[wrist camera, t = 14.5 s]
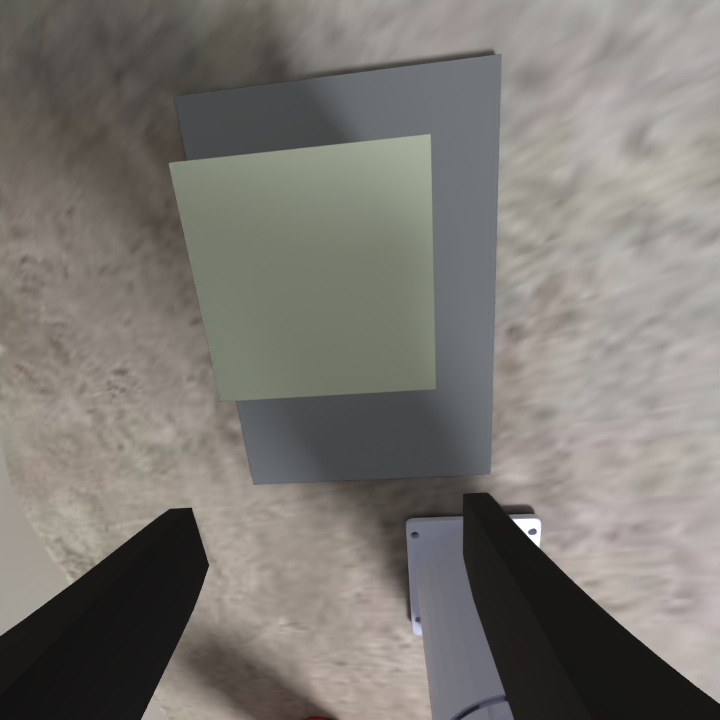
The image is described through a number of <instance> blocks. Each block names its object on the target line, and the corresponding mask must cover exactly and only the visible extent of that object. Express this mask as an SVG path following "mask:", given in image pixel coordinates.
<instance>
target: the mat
mask: <svg viewBox="0 0 720 720" xmlns="http://www.w3.org/2000/svg"><path fill="white" fill-rule="evenodd" d="M500 90H501V54H497V55H490V56H482V57H474V58H466V59H459V60H451V61H443V62H435V63H428V64H420V65H412V66H404V67H397V68H389V69H381V70H373V71H366V72H358V73H350V74H342V75H335V76H327V77H319V78H311V79H304V80H296V81H288V82H280V83H273V84H265V85H257V86H249V87H242V88H234V89H226V90H218V91H211V92H203V93H195V94H187V95H180V96H174V101H175V106H176V111H177V116H178V120H179V125H180V130H181V135H182V140H183V145H184V150H185V154H186V159H187V161H190V160H199V159H208V158H217V157H227V156H236V155H245V154H254V153H263V152H272V151H281V150H290V149H299V148H308V147H317V146H327V145H336V144H345V143H354V142H363V141H372V140H381V139H390V138H399V137H408V136H418V135H427V134H431V173H432V222H433V271H434V320H435V370H436V389H429V390H412V391H395V392H378V393H360V394H343V395H326V396H309V397H292V398H274V399H257V400H240V401H237V406H238V411H239V416H240V421H241V426H242V430H243V435H244V440H245V445H246V450H247V455H248V460H249V464H250V469H251V474H252V479H253V484H254V485H258V484H281V483H304V482H326V481H349V480H372V479H395V478H418V477H441V476H464V475H487V474H490V468H491V431H492V393H493V355H494V317H495V279H496V241H497V203H498V166H499V128H500Z"/></svg>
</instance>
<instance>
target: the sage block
mask: <svg viewBox="0 0 720 720" xmlns="http://www.w3.org/2000/svg"><path fill="white" fill-rule="evenodd" d="M169 168H170V173H171V177H172V182H173V187H174V191H175V196H176V200H177V205H178V210H179V214H180V219H181V223H182V228H183V233H184V237H185V242H186V246H187V251H188V256H189V260H190V265H191V269H192V274H193V279H194V283H195V288H196V292H197V297H198V302H199V306H200V311H201V315H202V320H203V325H204V329H205V334H206V339H207V343H208V348H209V352H210V357H211V362H212V366H213V371H214V375H215V380H216V385H217V389H218V394H219V398H220V402H223V401H240V400H257V399H274V398H292V397H309V396H326V395H343V394H360V393H378V392H395V391H412V390H429V389H436V370H435V320H434V271H433V222H432V173H431V134H427V135H418V136H408V137H399V138H390V139H381V140H372V141H363V142H354V143H345V144H336V145H327V146H317V147H308V148H299V149H290V150H281V151H272V152H263V153H254V154H245V155H236V156H227V157H217V158H208V159H199V160H190V161H181V162H172V163H169Z"/></svg>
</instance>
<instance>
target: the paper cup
mask: <svg viewBox="0 0 720 720" xmlns="http://www.w3.org/2000/svg"><path fill="white" fill-rule="evenodd" d="M304 720H331V719H326V718H307V719H304Z"/></svg>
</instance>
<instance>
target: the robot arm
mask: <svg viewBox="0 0 720 720" xmlns="http://www.w3.org/2000/svg"><path fill="white" fill-rule="evenodd" d="M532 528H534V529H532ZM530 529H532V530H530ZM413 532H417V534H412V533H413ZM540 535H541V521H540V519H539V518H538V516H537V515H535V514H514V515H508V514H507V513H506V512H505V511H504V510H503V508H502V507H501V506H500V505H499V504H498V503H497V502H496V501H495V499H494V498H493V497H492V496H491V495H490V494H489V493H471V494H463V516H457V517H429V518H411V519H409V520H408V521H407V522H406V537H407V554H408V571H409V588H410V605H411V622H412V631H413V633H414V634H416V635H423V644H424V652H425V660H426V669H427V677H428V686H429V694H430V703H431V711H432V720H720V704H719V703H718V702H716V701H715V700H714V699H712V698H711V697H710V696H708V695H707V694H706V693H704V692H703V691H702V690H700V689H699V688H698V687H696V686H695V685H694V684H692V683H691V682H690V681H689V680H687V679H686V678H685V677H684V676H682V675H681V674H680V673H679V672H677V671H676V670H675V669H674V668H672V667H671V666H670V665H669V664H667V663H666V662H665V661H664V660H662V659H661V658H660V657H659V656H657V655H656V654H655V653H654V652H653V651H651V650H650V649H649V648H648V647H647V646H645V645H644V644H643V643H642V642H641V641H639V640H638V639H637V638H636V637H635V636H633V635H632V634H631V633H630V632H629V631H628V630H626V629H625V628H624V627H623V626H622V625H621V624H619V623H618V622H617V621H616V620H615V619H614V618H613V617H612V616H610V615H609V614H608V613H607V612H606V611H605V610H604V609H603V608H601V607H600V606H599V605H598V604H597V603H596V602H595V601H594V600H593V599H592V598H591V597H589V596H588V595H587V594H586V593H585V592H584V591H583V590H582V589H581V588H580V587H579V586H578V585H576V584H575V583H574V582H573V581H572V580H571V579H570V578H569V577H568V576H567V575H566V574H565V573H564V572H563V571H562V570H561V569H560V568H559V567H558V566H557V565H556V564H555V563H554V562H553V561H552V560H551V559H550V558H549V557H548V556H547V555H546V554H545V553H544V552H543V551H542V550H541V549H540ZM208 567H209V564H208V560H207V557H206V554H205V550H204V547H203V544H202V540H201V537H200V534H199V530H198V527H197V524H196V521H195V517H194V514H193V511H192V508H178V509H169V510H168V511H166V512H165V513H163V514H162V515H161V516H159V517H158V518H156V519H155V520H154V521H152V522H151V523H150V524H149V525H147V526H146V527H145V528H143V529H142V530H141V531H140V532H138V533H137V534H136V535H134V536H133V537H132V538H131V539H129V540H128V541H127V542H125V543H124V544H123V545H122V546H120V547H119V548H118V549H117V550H115V551H114V552H113V553H111V554H110V555H109V556H108V557H106V558H105V559H104V560H102V561H101V562H100V563H99V564H97V565H96V566H95V567H93V568H92V569H91V570H90V571H88V572H87V573H86V574H84V575H83V576H82V577H81V578H79V579H78V580H77V581H75V582H74V583H73V584H71V585H70V586H69V587H67V588H66V589H65V590H63V591H62V592H61V593H59V594H58V595H56V596H55V597H54V598H52V599H51V600H50V601H48V602H47V603H46V604H44V605H43V606H42V607H40V608H39V609H37V610H36V611H35V612H33V613H32V614H31V615H29V616H28V617H27V618H25V619H24V620H23V621H21V622H20V623H18V624H17V625H15V626H14V627H13V628H11V629H10V630H8V631H7V632H6V633H4V634H3V635H1V636H0V720H141V718H142V716H143V714H144V712H145V710H146V708H147V706H148V704H149V702H150V700H151V698H152V696H153V694H154V691H155V689H156V687H157V685H158V683H159V681H160V679H161V677H162V675H163V673H164V671H165V669H166V667H167V665H168V662H169V660H170V658H171V656H172V654H173V652H174V650H175V648H176V646H177V644H178V642H179V640H180V637H181V635H182V633H183V631H184V629H185V627H186V625H187V623H188V621H189V618H190V616H191V614H192V612H193V610H194V607H195V605H196V602H197V599H198V596H199V594H200V591H201V588H202V585H203V582H204V579H205V576H206V573H207V570H208Z"/></svg>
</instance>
